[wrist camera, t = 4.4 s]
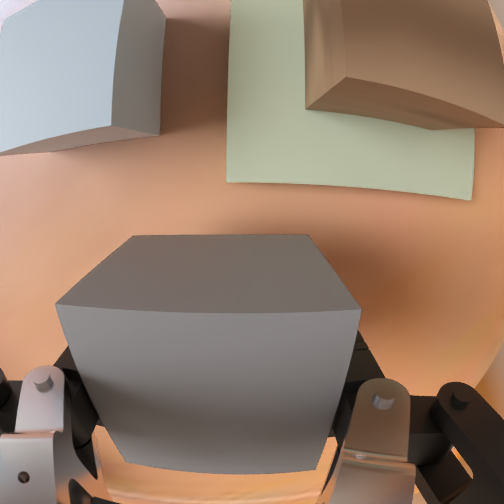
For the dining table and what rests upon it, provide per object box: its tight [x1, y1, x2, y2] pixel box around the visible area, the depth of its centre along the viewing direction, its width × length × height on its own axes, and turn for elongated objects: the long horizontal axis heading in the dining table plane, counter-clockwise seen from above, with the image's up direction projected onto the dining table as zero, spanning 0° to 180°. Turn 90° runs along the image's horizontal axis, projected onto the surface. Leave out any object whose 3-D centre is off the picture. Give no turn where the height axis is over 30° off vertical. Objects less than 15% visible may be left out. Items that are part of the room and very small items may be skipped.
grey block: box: [55, 235, 362, 474], centre depth 8 cm, size 6×6×5 cm
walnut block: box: [303, 0, 504, 130], centre depth 7 cm, size 6×6×5 cm
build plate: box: [226, 0, 475, 201], centre depth 10 cm, size 12×12×1 cm
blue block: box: [0, 0, 166, 156], centre depth 8 cm, size 6×6×5 cm
